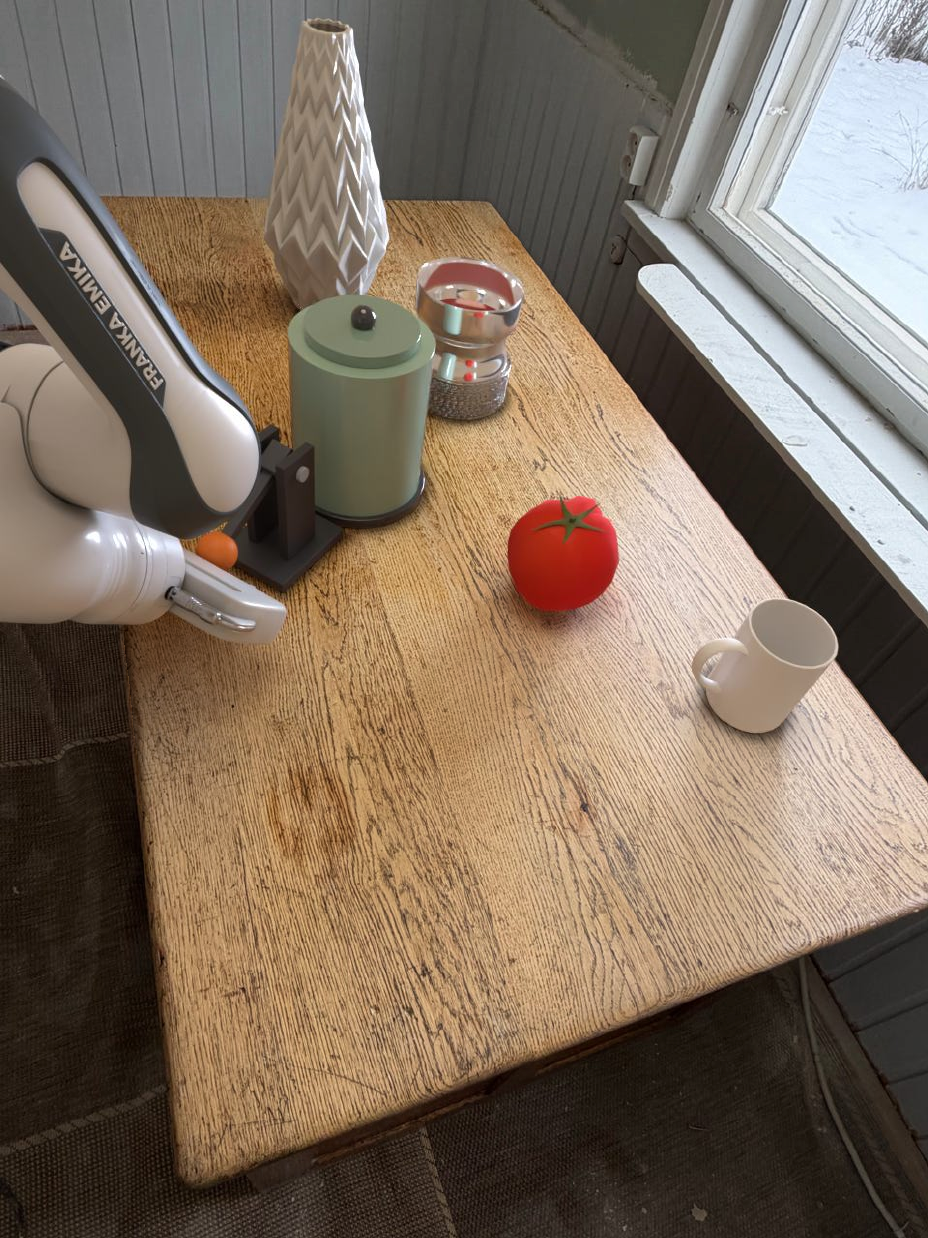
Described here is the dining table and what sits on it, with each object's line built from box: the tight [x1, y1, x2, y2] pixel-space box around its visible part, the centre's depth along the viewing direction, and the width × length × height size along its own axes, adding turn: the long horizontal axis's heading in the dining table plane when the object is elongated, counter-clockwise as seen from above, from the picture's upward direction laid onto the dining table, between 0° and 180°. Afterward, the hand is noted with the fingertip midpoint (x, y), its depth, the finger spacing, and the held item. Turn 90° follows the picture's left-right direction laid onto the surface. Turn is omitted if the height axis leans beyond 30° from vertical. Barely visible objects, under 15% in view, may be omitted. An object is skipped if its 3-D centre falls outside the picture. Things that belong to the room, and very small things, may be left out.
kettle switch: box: [195, 439, 293, 572], centre depth 70 cm, size 13×4×4 cm, turn 150°
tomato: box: [506, 495, 620, 612], centre depth 77 cm, size 11×13×10 cm
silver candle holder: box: [414, 256, 525, 421], centre depth 98 cm, size 13×18×15 cm
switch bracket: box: [233, 423, 344, 593], centre depth 75 cm, size 10×8×13 cm
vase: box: [263, 17, 390, 312], centre depth 99 cm, size 17×17×33 cm
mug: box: [691, 597, 839, 734], centre depth 71 cm, size 12×8×10 cm, turn 102°
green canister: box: [286, 294, 436, 529], centre depth 80 cm, size 15×15×21 cm
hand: (222, 578), depth 72 cm, fingers open, 4 cm apart
